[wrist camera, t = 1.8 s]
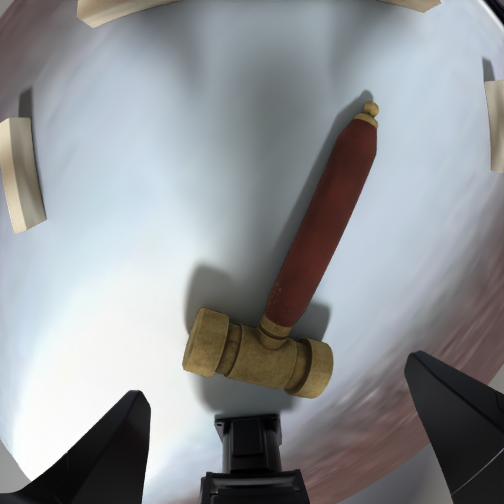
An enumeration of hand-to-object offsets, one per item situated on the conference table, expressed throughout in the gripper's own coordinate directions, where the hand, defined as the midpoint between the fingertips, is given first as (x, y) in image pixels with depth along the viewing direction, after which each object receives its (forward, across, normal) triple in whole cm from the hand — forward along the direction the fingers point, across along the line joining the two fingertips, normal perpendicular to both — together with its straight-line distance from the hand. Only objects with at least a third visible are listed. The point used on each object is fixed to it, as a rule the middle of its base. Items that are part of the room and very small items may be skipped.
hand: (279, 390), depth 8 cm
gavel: (+12, -3, 0) cm, 12 cm away
